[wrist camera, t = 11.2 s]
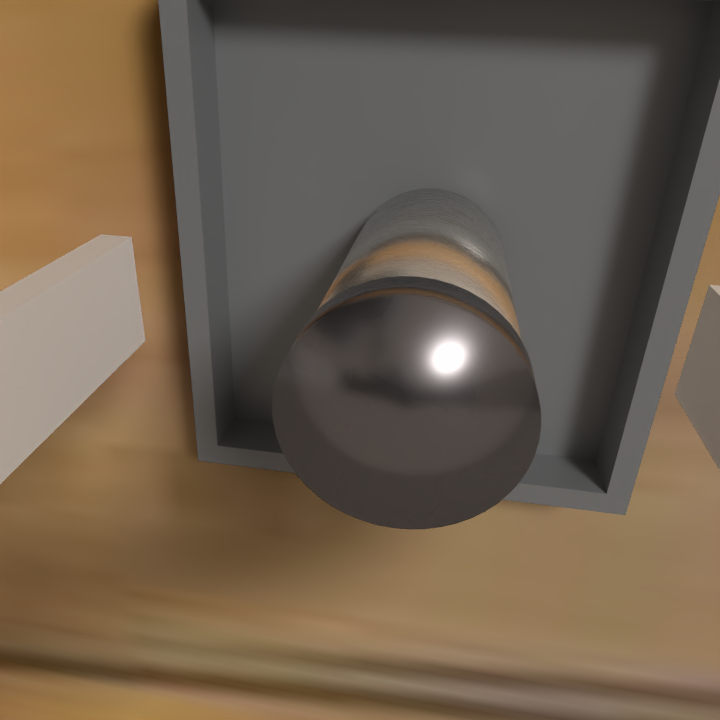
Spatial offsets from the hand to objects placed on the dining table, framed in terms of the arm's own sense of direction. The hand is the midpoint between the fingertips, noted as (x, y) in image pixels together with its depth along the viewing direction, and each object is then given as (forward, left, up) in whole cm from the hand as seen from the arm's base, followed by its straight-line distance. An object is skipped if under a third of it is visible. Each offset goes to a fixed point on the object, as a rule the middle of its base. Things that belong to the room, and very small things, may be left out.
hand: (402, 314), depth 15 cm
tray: (0, 0, -8) cm, 8 cm away
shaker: (+1, 0, -7) cm, 7 cm away
